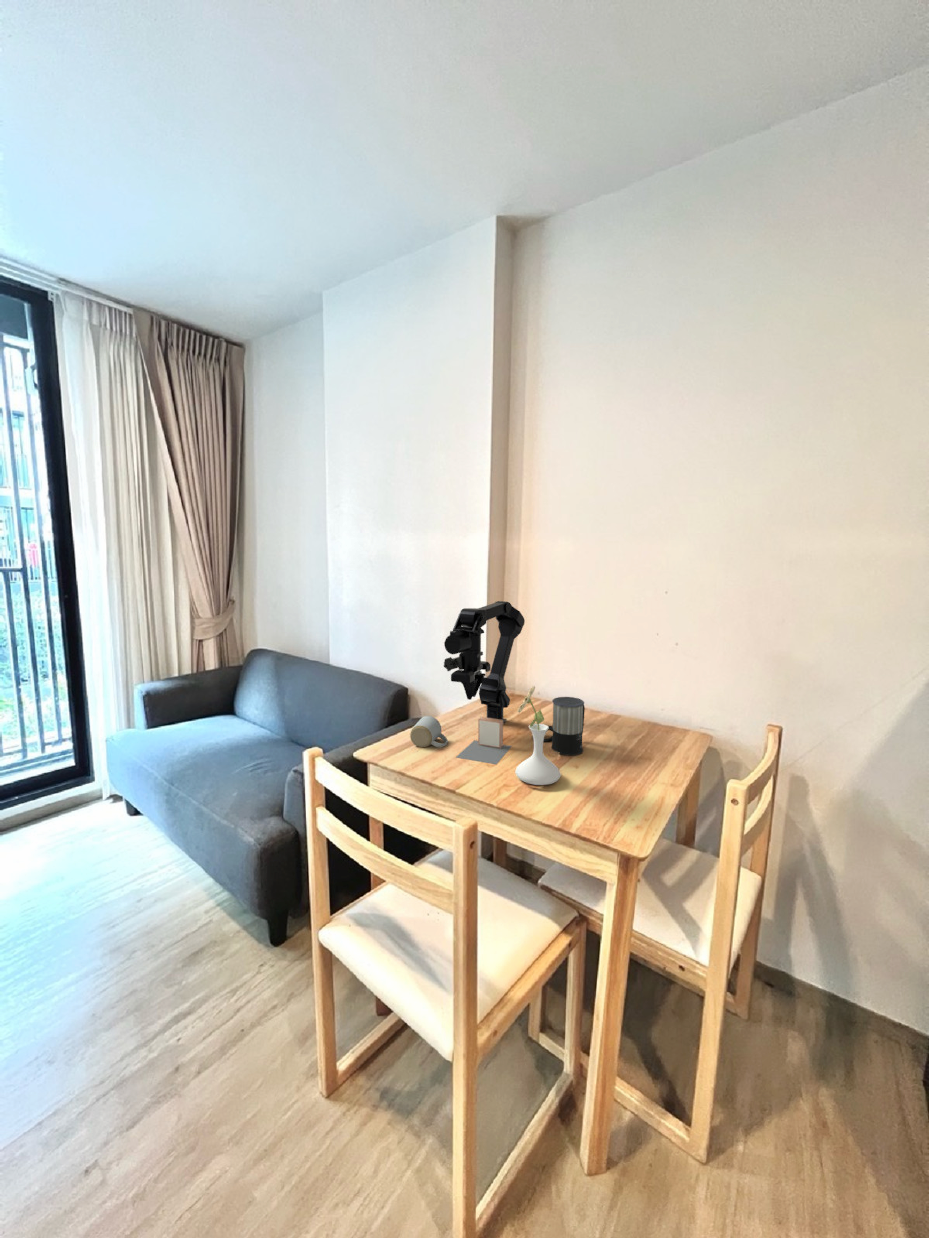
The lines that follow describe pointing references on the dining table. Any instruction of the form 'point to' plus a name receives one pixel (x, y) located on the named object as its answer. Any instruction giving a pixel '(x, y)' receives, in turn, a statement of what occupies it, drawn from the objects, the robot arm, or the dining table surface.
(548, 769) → the flower in vase
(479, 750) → the mat
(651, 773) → the dining table surface
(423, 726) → the ceramic mug
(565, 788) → the dining table surface
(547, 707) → the dining table surface
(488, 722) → the picture frame
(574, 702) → the milk frother
